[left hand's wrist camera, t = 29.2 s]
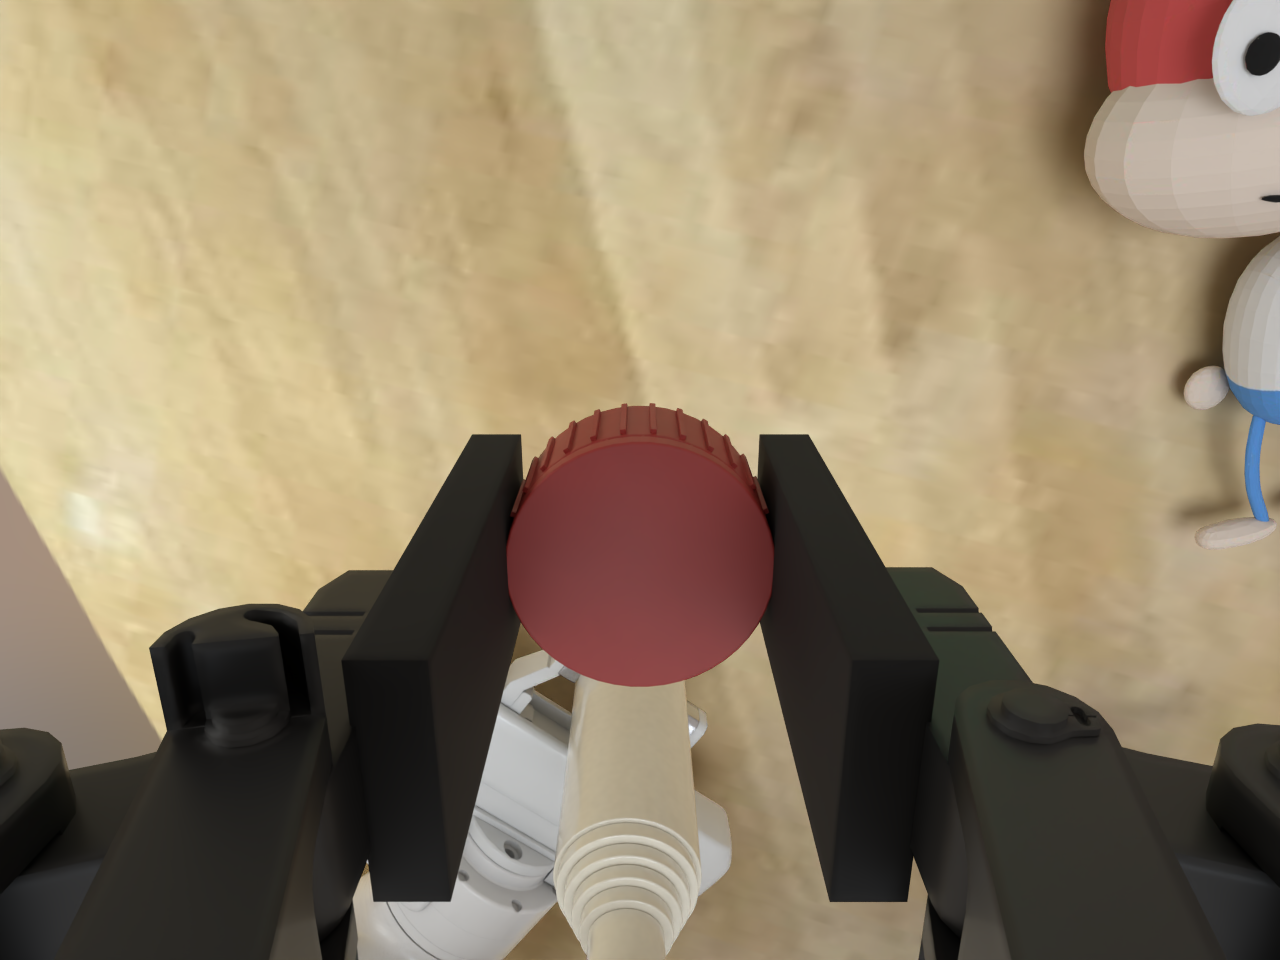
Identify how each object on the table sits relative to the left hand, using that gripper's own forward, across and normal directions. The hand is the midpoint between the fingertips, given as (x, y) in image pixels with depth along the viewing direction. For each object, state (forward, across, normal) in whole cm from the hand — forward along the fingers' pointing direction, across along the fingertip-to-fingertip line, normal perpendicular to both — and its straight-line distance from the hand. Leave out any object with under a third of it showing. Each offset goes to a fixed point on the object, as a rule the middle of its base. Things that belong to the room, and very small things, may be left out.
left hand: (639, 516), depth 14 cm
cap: (-2, 0, 0) cm, 2 cm away
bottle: (+31, 0, -19) cm, 36 cm away
